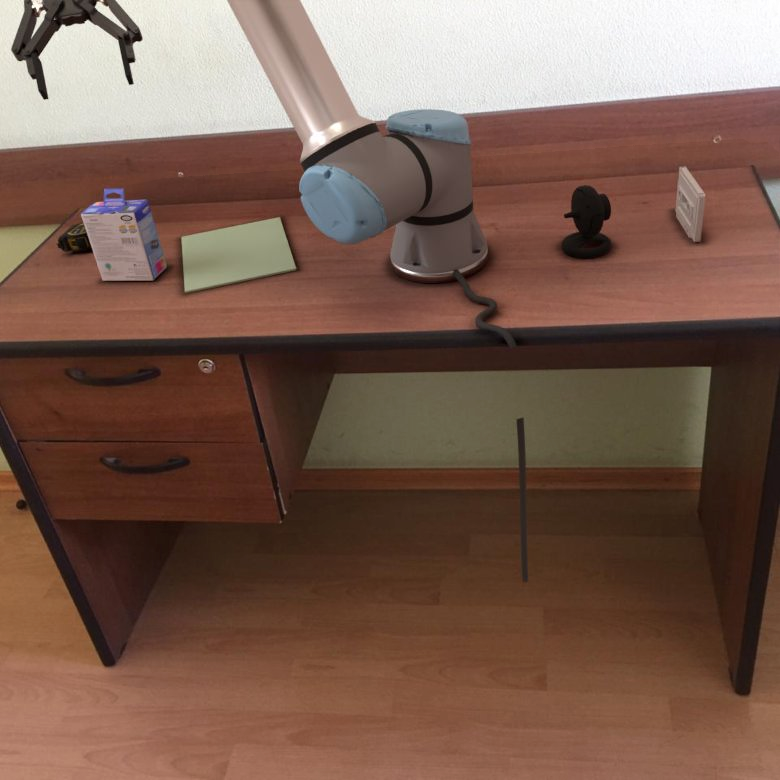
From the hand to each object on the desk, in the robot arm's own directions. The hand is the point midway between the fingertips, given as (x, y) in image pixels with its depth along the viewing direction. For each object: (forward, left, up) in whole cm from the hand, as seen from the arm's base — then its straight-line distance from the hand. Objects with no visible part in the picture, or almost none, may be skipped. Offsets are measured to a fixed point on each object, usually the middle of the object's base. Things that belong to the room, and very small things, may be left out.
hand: (86, 87), depth 133 cm
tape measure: (+5, +10, -28) cm, 30 cm away
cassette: (-35, -87, -28) cm, 98 cm away
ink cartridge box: (-11, 0, -28) cm, 30 cm away
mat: (-11, -17, -28) cm, 35 cm away
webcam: (-35, -70, -28) cm, 83 cm away
